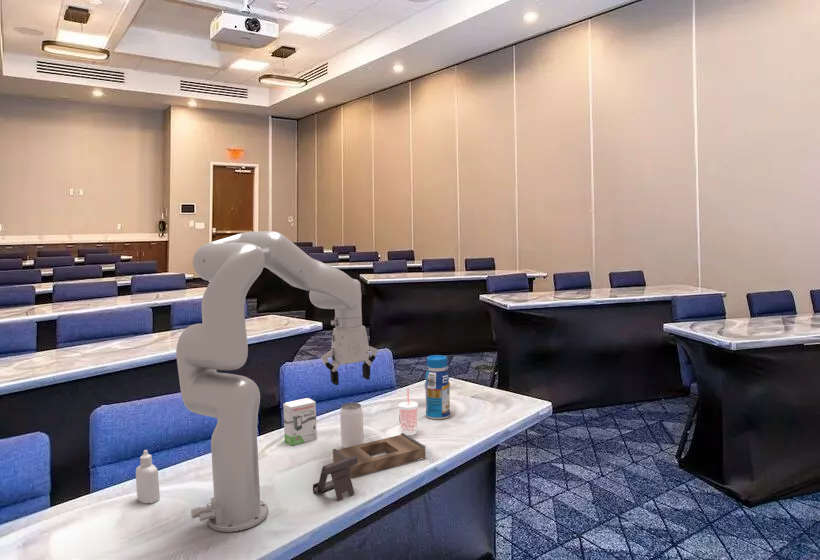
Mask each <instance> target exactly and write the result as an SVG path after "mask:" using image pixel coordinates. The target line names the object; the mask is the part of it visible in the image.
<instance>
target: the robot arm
mask: <svg viewBox="0 0 820 560" xmlns="http://www.w3.org/2000/svg"><path fill="white" fill-rule="evenodd" d="M192 266H193V267H192V268H193V269H194V270H193V271H194V272H195V273H196V275H197V276H198V277H199V278H200V279H202V280H204V281H208V282H209V283H208V285H207V287H206V289H205V291H204V292H203V295H202V299H201V320H202V323H195V324H192V325H191V324H190V325H189V326H188V327H186V328H185V329H184V330H183V331H182V333H181V334H180V335H179V337H178V340H177V344H176V348H175V350H176V353H175V354H176V364H177V372H178V373H177V374H178V379H179V387H180V395H181V399H182V401H183V402H182V403H183V404H184V406H185V408H187V409H188V411H189V412H192V413H194V414H196V415H201V416H205V417H212V418H213V419H217V423H216V426H215V428H214V430H213V432H212V435H211V439H210V440H211V441H210V451H211V452H210V453H211V466H212V481H213V482H212V483H213V485H212V486H213V497H211V498H210V502H209V503H206V505H204V506H199V507H196V508H191V509H190V512H191V513H190V515H191V518H192V519H195V518H199V521H200V522H201V521H202V522H203V521H205V520H207V525H208V526H209V528H211V529H212V530H214V531H218V532H224V533H233V531H234V532H239V530H240V531H243V530H244V529H245V530H247V529H251V528H252V527H256V526H257V525H259V524H260V523H262V522H263V521H264V520H265V519H266V518H267V516H268V514H269V508H268V504H267V503H266V502H264V501H262V500H261V493H260V471H259V469H260V468H259V467H260V465H259V452H258V451H259V450H258V449H259V447H258V415H259V410H260V402H261V394H260V389H259V386H258V385H257V383H256V382H255V381H254V380H252V379H251V378H249V377H247V376H244V375H239V374H234V373H227V372H218V371H234V370H238V369H241V368H242V367H243V366H244V365H245V363H246V362H247V359H248V356H249V355H248V354H249V353H248V352H249V347H248V345H249V344H248V336H247V327H246V326H247V325H246V317H245V302H246V301H245V299H246V297H247V294H248V292H249V290H250V288H251V287H252V286H253V284H254V283H255V281H256V280H257V279H258V277H259V276H260V275H261V274H262V272H263V269H264V268H266V269H268V270H269V271H270V272H272V273H273V274H274V275H276V276H277V277H279V278H280V279H282V281H284V282H286V283H287V284H289V286H291V287H294V288H296V289H297V288H298V289H300V290H304V291H309V293H308V295H309V296H308V297H309V300H310V303H311V305H314V307H317V308H319V309H324V310H326V309H327V310H334V319H333V320H330V325H331V326H335V327H334V328H333V330H332V337H331V349H329V351H327V352H326V353H324V354H323V355H322V356H320V360H321V361H322V363H323V365H324V366H325V367H326V368H327V369H328V370H329V371H330V381H331V384H333V385H335V386H338V385H339V371H338V368H339V367H340V365H349V364H355V363H357V364H358V363H361V362H362V363H363V364H362V365H361V366H362V378H364V379H366V380H367V381H369V380H370V376H371V366H372V365H373V364H372V363H373V362H374V361H375V359H376V356H377V354H378V351H379V350H378V348H376V347H374V346H370V345H369V339H368V333H367V330H366V326H365V325H363V315H362V297H363V296H362V289H361V287H362V286H361V282H360V281H359V280H358V279H355V278H352V277H351V276H350V275H348V274H347V273H345V272H344V271H342V270H340V269H338V268H336V267H334V266H332V265H329V264H327V263H324V262H323V261H320V260H318V259H315V258H313V257H311V256H310V255H308V254H307V253H306V252H304V250H302V249H301V248H300V247H299V246H297V244H295V243H294V242H293V241H291V240H290V239H289V238H288V237H286V236H285V235H284V234H282V233H281V232H278V231H273V230H265V231H263V230H262V231H258V230H257V231H246V232H241V233H237V234H233V235H231V236H228V237H224V238H221V239H216V240H213V241H210V242H207V243H205V244H203V245H201V246H199V247H198V249H197V250H196V251H195V253H194V255H193V259H192ZM330 358H331V360H332V362H331V363H330V362H329V359H330Z"/></svg>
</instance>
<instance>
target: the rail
mask: <svg viewBox="0 0 820 560" xmlns="http://www.w3.org/2000/svg"><path fill="white" fill-rule="evenodd" d="M382 453H386V454H382ZM378 454H382V455H378ZM354 455H355V456H356V457H357V459H358V463H357V464H356V465H353V466H351V468H350V472H349V474H350V477H351V479H353V478H356V477H360V476H364V475H368V474H373V473H376V472H379V471H383V470H387V469H391V468H395V467H397V466H401V465H406V464H409V462H410V463H413V462H416V461H415V460H417V461H419V460H418V459H421V458H424V459H426V445H424V444H423V443H421V442H419V441H418V440H415V439H414V438H412V437H410V436H408V435H406V434H404V433H400V434H398V435H394V436H389V437H386V438H381V439H377V440H372V441H368V442H365V443H364V444H360V445H355V446H351V447H347V448H343V447H342V448H339V449H336V448H333V449H332V461H333V462H332V463H334V462H337V461H340V460H343V459H345V458H348V457H351V456H354ZM374 455H378V456H374ZM373 456H374V457H373ZM421 460H422V459H421ZM412 461H413V462H412ZM405 463H406V464H405ZM394 466H395V467H394Z"/></svg>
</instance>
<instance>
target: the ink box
mask: <svg viewBox="0 0 820 560" xmlns="http://www.w3.org/2000/svg"><path fill="white" fill-rule="evenodd" d="M316 403H317V401H315V400H313V399H311V398H309V397H306V398H299V399H296V400H291V401H288V402H287V401H286V402H284V403H283V404H282V406H283V426H284V427H283V428H284V442H286V443H287V444H288V445H290V446H296V445H300V444H303V443H306V442H311V441H315V440H317V439H318V434H317V432H318V431H317V404H316Z"/></svg>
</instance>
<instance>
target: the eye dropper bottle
mask: <svg viewBox="0 0 820 560" xmlns="http://www.w3.org/2000/svg"><path fill="white" fill-rule="evenodd" d="M152 459H153V457H152V454H149V452H148V450H147V449H144V450H143V453H142V455H141V456H140V457H139V461H140V462H139V463H140V465H138V466H137V467H136V469H135V480H136V481H135V482H136V485H135V486H136V496H137V497H136V498H137V501H139V502H140V501H141V502H140V503H142V502H143V504H147V503H151V504H155V503H156V502H158V501H160V497H161V496H160V482H159V481H160V479H159V472H158V471H159V470H158V468H157V467H156V465H154V464H153V460H152Z"/></svg>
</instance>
